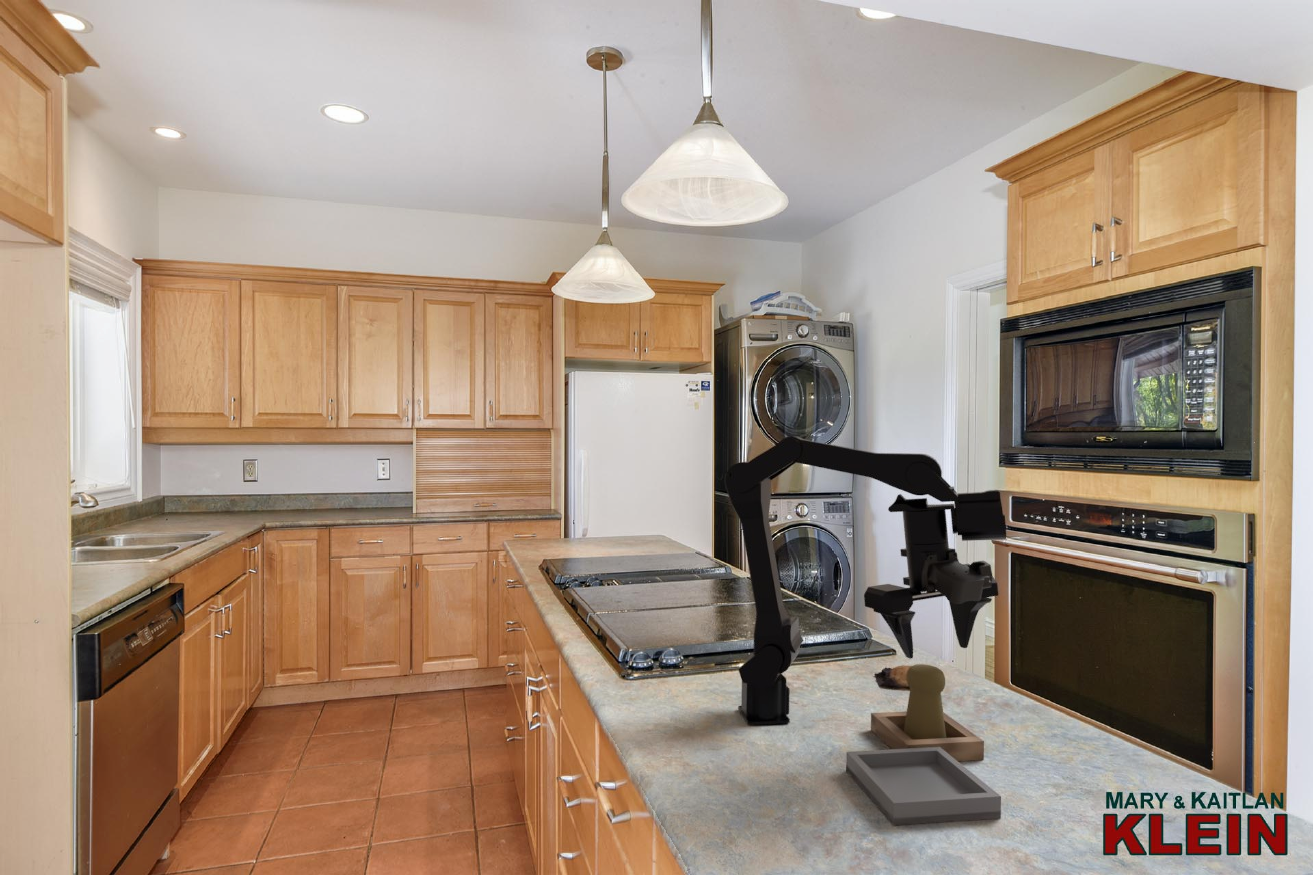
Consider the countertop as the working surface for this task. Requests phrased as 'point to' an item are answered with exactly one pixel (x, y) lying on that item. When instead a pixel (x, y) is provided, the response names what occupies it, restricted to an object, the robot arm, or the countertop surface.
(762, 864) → the countertop surface
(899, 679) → the bread roll
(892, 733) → the pin holder
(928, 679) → the cork
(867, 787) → the tray
